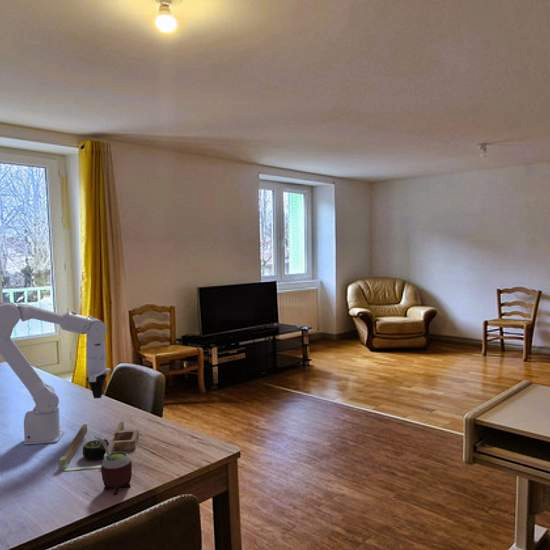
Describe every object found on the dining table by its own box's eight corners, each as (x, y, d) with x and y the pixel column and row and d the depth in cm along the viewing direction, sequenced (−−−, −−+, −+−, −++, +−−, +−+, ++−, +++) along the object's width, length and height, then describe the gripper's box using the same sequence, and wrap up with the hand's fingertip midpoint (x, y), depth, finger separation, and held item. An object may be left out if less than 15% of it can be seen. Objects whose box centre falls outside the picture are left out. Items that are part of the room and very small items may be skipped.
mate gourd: (134, 479, 118) (132, 421, 117) (129, 496, 110) (127, 434, 109) (103, 482, 116) (101, 423, 115) (96, 499, 109) (94, 436, 108)
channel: (58, 471, 122) (58, 461, 122) (82, 432, 148) (82, 423, 148) (130, 465, 125) (130, 455, 125) (141, 427, 151) (141, 419, 151)
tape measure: (107, 460, 129) (107, 447, 129) (81, 463, 127) (80, 450, 127) (109, 449, 135) (109, 437, 135) (84, 452, 133) (83, 440, 133)
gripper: (104, 361, 143) (106, 404, 144) (113, 350, 158) (114, 389, 159) (80, 362, 142) (82, 405, 143) (91, 351, 157) (92, 391, 158)
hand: (97, 397), depth 151 cm, fingers closed
